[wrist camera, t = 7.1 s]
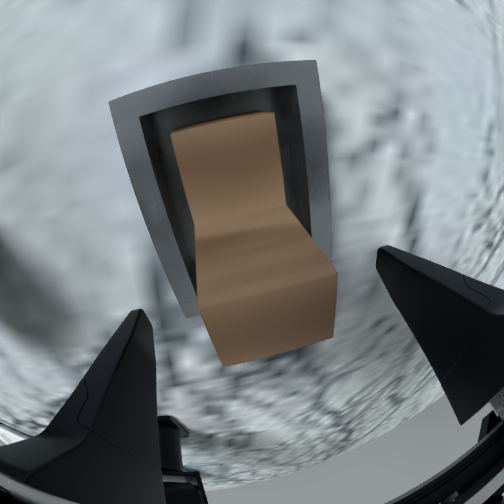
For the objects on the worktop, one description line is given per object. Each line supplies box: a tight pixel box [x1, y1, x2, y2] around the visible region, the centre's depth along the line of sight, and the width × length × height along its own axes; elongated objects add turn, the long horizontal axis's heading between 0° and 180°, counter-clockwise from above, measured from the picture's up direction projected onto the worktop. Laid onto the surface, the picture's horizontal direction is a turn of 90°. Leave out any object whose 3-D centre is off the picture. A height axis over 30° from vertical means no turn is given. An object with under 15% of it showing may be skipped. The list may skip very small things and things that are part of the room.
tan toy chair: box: [170, 111, 338, 367], centre depth 10 cm, size 7×4×7 cm, turn 9°
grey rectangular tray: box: [109, 60, 331, 318], centre depth 12 cm, size 11×8×2 cm
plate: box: [0, 424, 31, 445], centre depth 32 cm, size 25×25×2 cm
